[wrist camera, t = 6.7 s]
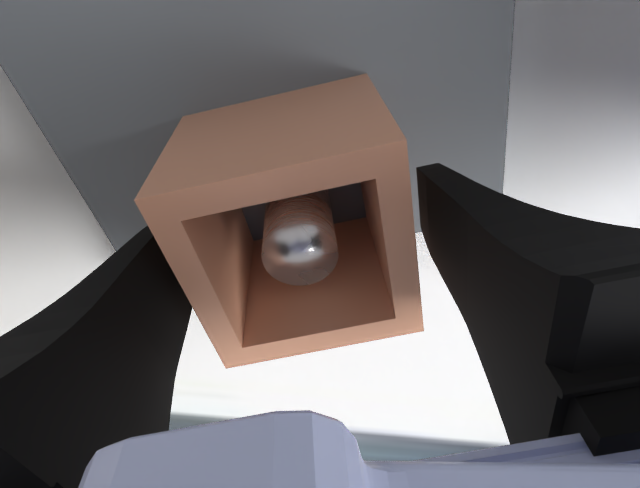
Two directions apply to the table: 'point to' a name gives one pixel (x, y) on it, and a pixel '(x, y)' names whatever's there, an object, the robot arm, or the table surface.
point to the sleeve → (279, 183)
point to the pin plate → (256, 93)
